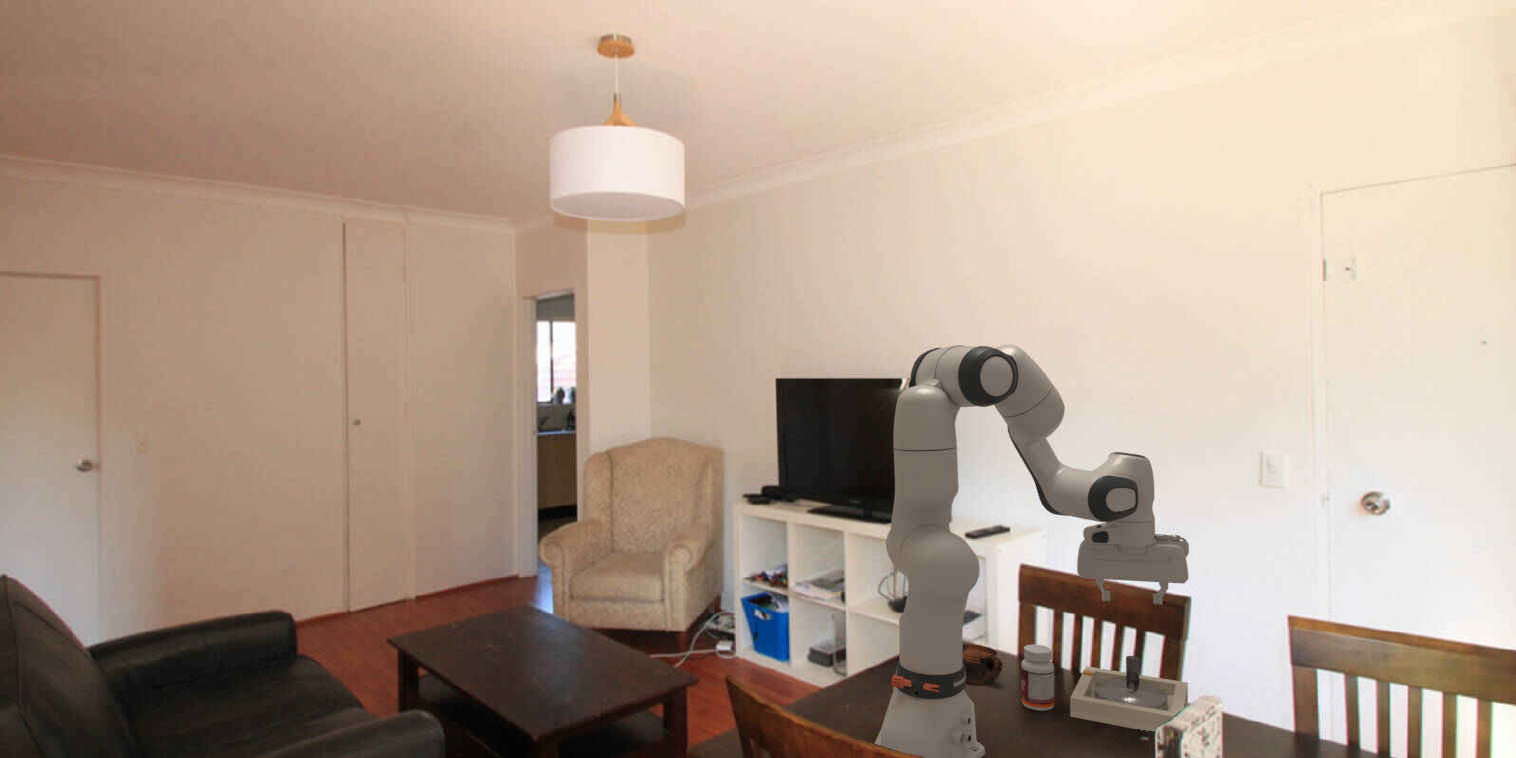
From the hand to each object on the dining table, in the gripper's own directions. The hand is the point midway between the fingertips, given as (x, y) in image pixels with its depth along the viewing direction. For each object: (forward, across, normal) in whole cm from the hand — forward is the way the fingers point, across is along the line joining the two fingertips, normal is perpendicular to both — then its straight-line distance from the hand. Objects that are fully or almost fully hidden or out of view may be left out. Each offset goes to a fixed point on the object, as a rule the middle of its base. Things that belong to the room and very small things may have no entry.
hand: (1131, 602), depth 164 cm
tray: (+20, +1, +5) cm, 20 cm away
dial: (+18, +1, +5) cm, 19 cm away
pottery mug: (+20, +30, -3) cm, 36 cm away
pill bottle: (+20, +18, +8) cm, 28 cm away
